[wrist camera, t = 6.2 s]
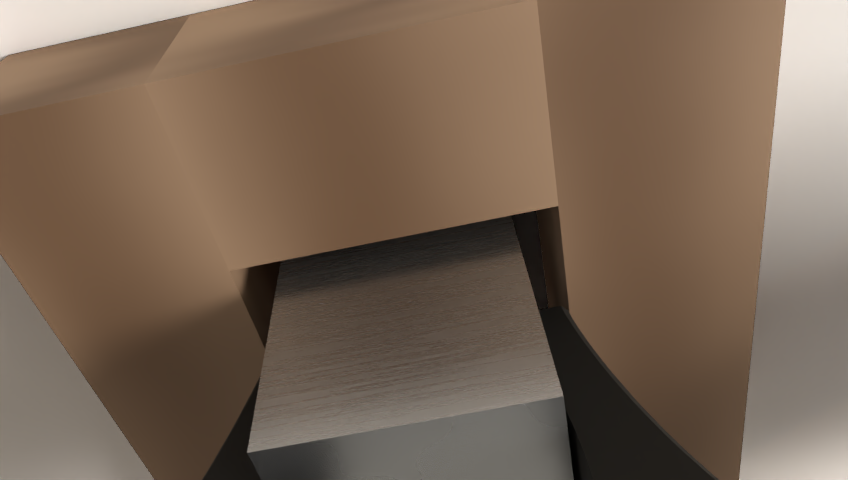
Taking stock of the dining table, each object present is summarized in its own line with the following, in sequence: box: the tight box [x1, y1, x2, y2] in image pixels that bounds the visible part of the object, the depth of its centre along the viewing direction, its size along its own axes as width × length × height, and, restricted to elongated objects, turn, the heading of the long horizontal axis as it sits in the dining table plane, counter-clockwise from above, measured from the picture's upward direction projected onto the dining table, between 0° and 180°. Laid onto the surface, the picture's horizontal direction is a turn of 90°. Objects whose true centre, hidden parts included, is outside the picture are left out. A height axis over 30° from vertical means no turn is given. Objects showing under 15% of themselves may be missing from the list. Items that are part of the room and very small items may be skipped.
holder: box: [0, 0, 786, 480], centre depth 14 cm, size 12×12×3 cm
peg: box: [247, 215, 574, 480], centre depth 12 cm, size 4×4×5 cm
